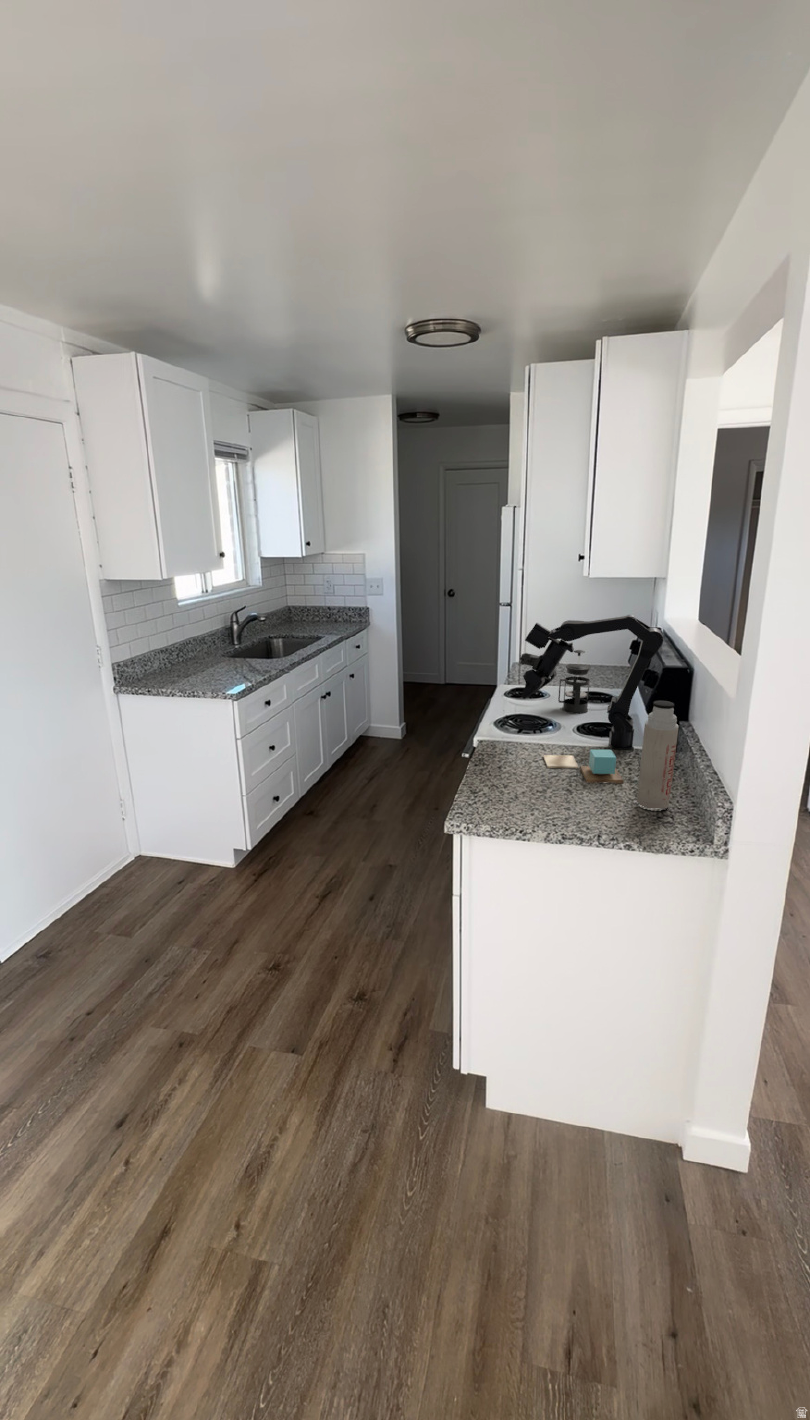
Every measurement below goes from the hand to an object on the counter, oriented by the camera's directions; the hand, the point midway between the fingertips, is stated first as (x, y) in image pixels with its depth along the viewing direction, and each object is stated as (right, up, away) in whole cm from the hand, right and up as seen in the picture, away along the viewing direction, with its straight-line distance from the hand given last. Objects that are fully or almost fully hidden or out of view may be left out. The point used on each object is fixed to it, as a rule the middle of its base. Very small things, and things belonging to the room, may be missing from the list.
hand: (527, 695), depth 221 cm
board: (+7, -21, -18) cm, 28 cm away
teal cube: (+16, -22, -29) cm, 39 cm away
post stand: (+16, -24, -28) cm, 40 cm away
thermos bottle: (+24, -30, -46) cm, 60 cm away
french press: (+24, -5, +33) cm, 41 cm away
